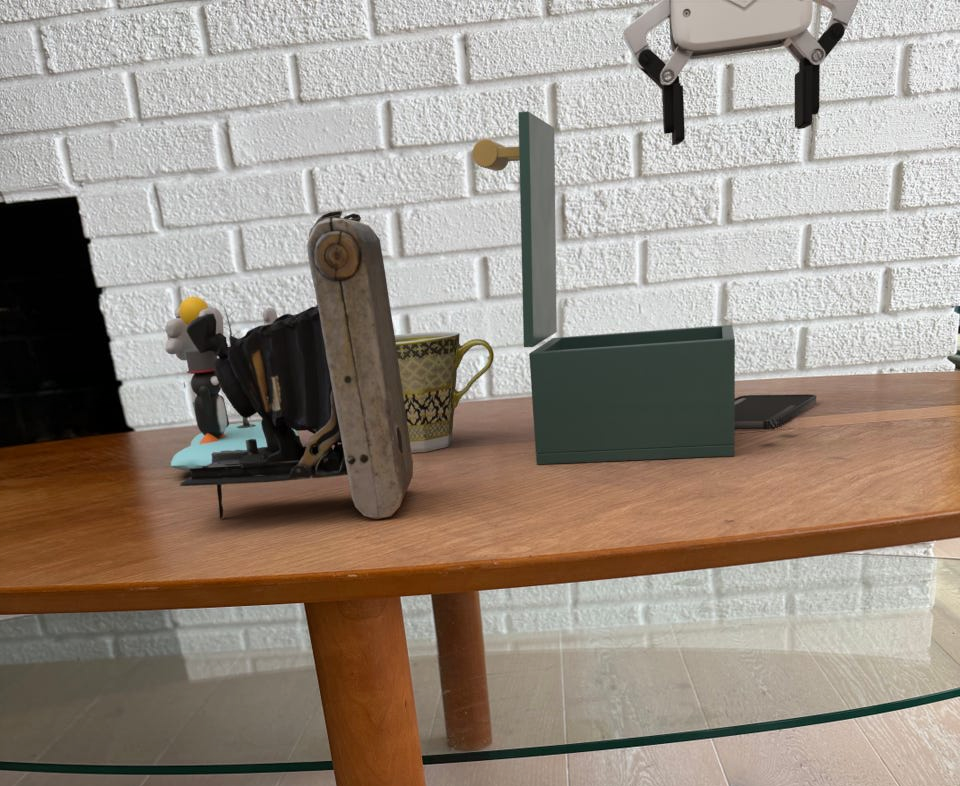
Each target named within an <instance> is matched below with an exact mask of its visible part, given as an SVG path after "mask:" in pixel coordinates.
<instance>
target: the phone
mask: <svg viewBox="0 0 960 786" xmlns="http://www.w3.org/2000/svg"><path fill="white" fill-rule="evenodd" d="M815 405H817V395H816V394H811V393H810V394H807V393H806V394H805V393H804V394H803V393H802V394H747V395H746V394H745V395H740V396H736V397H735V429H772V430H776V429H775V428H777V429H779V428H778V427H780V426H781V427H783V426H784V425H786V424H788V423H789V422H790V421H792V420H794V419H795V418H796V417H798V416H800V415H801V414H803V413H804V412H806V411H807V410H809V409H810V408H813V407H814V406H815ZM782 425H783V426H782ZM781 427H780V428H781Z"/></svg>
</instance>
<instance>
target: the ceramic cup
mask: <svg viewBox="0 0 960 786" xmlns="http://www.w3.org/2000/svg"><path fill="white" fill-rule="evenodd" d="M395 341H396V348H397V356H398V363H399V370H400V377H401V384H402V390H403V397H404V404H405V410H406V417H407V424H408V431H409V439H410V446H411V454H414V453H426V452H431V451H435V450H441V449H446V448H449V446H450V445H451V444H452V441H453V429H454V416H455V409H456V408H457V407H458V405H459V402H460V400H461V399H462V397H463V396H464V395H466V393H467V392H468V391H470V389H471V388H472V386H473V384H475V382H476V381H477V380H479V379H480V377H482V376H483V375H484V374H485V373H487V371H489V369H490V368H491V366H492V364H493V362H494V359H495V358H494V357H495V356H494V355H495V354H494V350H493V347H492V346H491V344H490V343H489V342H487V340H484V339H482V338H481V339H480V338H474V339H471V340H469V341H468V340H467V341H466V342H465V343H463V344H462V345H461V344H460V333H459V332H457V331H425V332H415V333H414V332H413V333H403V334H395ZM475 346H482V347H485V348H486V350H487V351H488V354H489V357H488V361H487V363H486V364H485V366H484V367H482V368H481V370H479V371H478V372H477V373H476V374H475V375H473V377H472V378H470V380H469V381H468V383H467V384H466V385H465V387H463V389H461V390H457V389H456V387H457V376H458V375H457V374H458V368H459V366H460V365H461V362H462V360H463V358H464V356H465V355H466V354H467V352H468V351H470V350H471V349H472V348H473V347H475Z"/></svg>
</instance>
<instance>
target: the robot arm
mask: <svg viewBox="0 0 960 786" xmlns="http://www.w3.org/2000/svg"><path fill="white" fill-rule="evenodd" d="M814 3H815V4H818V5H820V6H822V7H825V8H827V9H829V10H830V12H831V17H830V20H829V22H828V25H827V27H826V29H825V31H824V32H823V33H822V34H821V36H819V38H818V39H816V38H815V37H814V36H813V35H812V34H811V32H810V31H809V30H808V28H809V27H810V25H811V23H812V20H813V9H814V7H813V6H814ZM858 4H859V0H660V1H658V2H657V3H655V4H654V5H653V6H651V7H650V8H649V9H647V10H646V11H645V12H644V13H642V14H641V15H640V16H638V17H637V18H636V19H633V21H631V22H630V23H629V24H627V25H626V26H625V28H624V30H623V34H622V38H623V41H624V42H625V44H626V46H627V48H628V50H629V51H630V53H631V55H632V58H634V60H635V62H636V64H637V67H638V68H639V69H640V70H641V71H642V72H643V73H644V74H645V75H646V76H647V77H648V78H649V79H650V80H651V81H652V82H653V83H654V84H656V85H657V87H658V89H659V90H661V101H662V102H661V103H662V124H663V125H662V127H663V135H668V134H671V145H672V146H677V145H680V144H681V143H683V141H685V138H686V132H685V131H686V129H685V102H684V101H685V100H684V85H683V84H681V82H680V76H679V75H680V74H681V72H682V71H683V69H684V67H685V66H686V64H687V62H689V60H698V59H708V58H715V57H722V56H723V57H724V56H729V55H736V54H743V53H752V52H758V51H765V50H772V49H777V48H781V47H784V48H785V49H786V50H787V52H789V54H790V55H791V56H792V57H793V58H794V60H795V61H796V62H797V63H798V71H797V72H796V73H795V74H794V128H795V129H797V130H804V129H806V128H808V127H810V126H812V124H813V115H814V116H815V115H818V114H819V111H820V99H821V98H820V95H821V94H820V92H821V91H820V86H821V85H820V83H821V82H820V81H821V76H820V75H821V74H820V73H821V72H820V71H821V64H822V63H823V62H824V61H825V59H826V58H827V57H828V55H830V54H831V52H832V51H833V50H834V48H835V47H836V46H837V44H838V43H839V42H840V41H841V40H842V39H843V38H844V35H845V32H846V29H847V27H848V25H849V23H850V21H851V19H852V16H853V14H854V12H855V10H856V8H857V6H858ZM668 19H669V22H668V23H669V39H670V48H671V51H672V54H671V56H670V58H669V59H668V60H667V62H666V63H665V62H664V61H663V60H662V58H660V57H659V56H658V55H657V54H656V53H655V52H653V50H652V48H651V47H650V46H649V43H648V41H647V36H648V34H650V33H651V32H652V31H654V30H655V29H657V28H658V27H659V26H660V25H662V24H663V23H665V22H666V21H668Z"/></svg>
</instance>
